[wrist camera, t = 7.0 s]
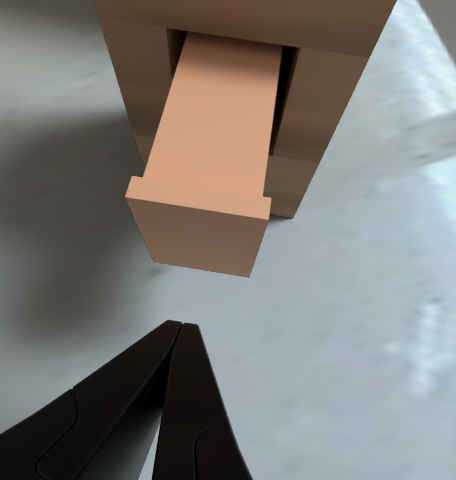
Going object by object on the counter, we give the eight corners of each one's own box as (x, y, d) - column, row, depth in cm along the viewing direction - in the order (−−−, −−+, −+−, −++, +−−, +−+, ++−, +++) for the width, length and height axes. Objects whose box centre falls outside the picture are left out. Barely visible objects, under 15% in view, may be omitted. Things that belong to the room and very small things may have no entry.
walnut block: (293, 218, 19) (405, -18, 8) (152, 195, 19) (73, -66, 8) (301, 122, 22) (392, -148, 11) (178, 103, 22) (146, -182, 11)
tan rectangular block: (249, 277, 12) (268, 219, 8) (153, 261, 12) (124, 197, 8) (271, 114, 15) (293, 13, 11) (195, 102, 15) (189, -2, 11)
